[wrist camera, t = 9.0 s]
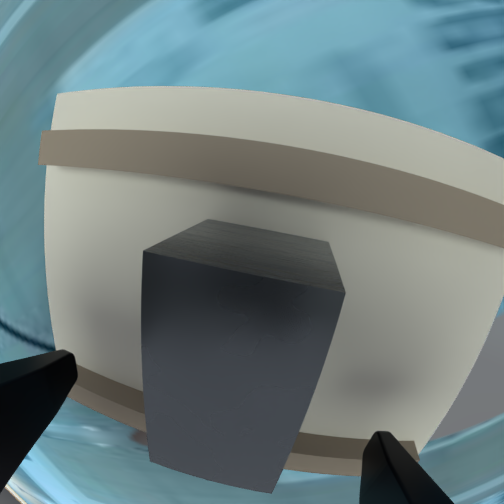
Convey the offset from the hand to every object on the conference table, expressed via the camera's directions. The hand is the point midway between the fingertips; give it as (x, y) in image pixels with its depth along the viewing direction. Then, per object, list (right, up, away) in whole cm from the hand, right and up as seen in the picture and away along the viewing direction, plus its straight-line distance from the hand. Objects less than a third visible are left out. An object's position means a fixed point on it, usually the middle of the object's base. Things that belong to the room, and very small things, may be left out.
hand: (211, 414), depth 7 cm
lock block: (+1, +1, +5) cm, 5 cm away
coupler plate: (+1, +2, +6) cm, 6 cm away
